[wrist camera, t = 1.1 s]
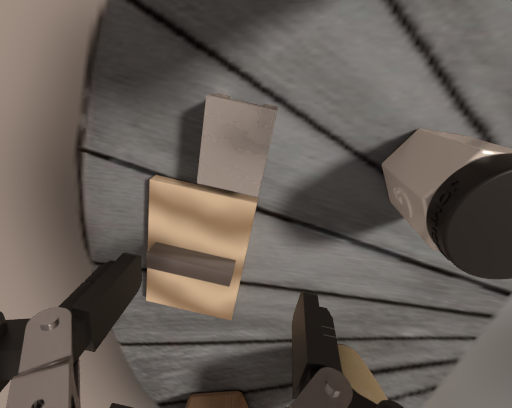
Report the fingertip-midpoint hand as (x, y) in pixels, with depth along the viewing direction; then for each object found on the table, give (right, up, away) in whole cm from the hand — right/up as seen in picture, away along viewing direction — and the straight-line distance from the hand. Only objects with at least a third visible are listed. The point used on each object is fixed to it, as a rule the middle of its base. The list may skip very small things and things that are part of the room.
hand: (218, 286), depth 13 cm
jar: (+19, +8, +14) cm, 25 cm away
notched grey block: (0, +11, +15) cm, 18 cm away
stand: (-6, -2, +21) cm, 22 cm away
